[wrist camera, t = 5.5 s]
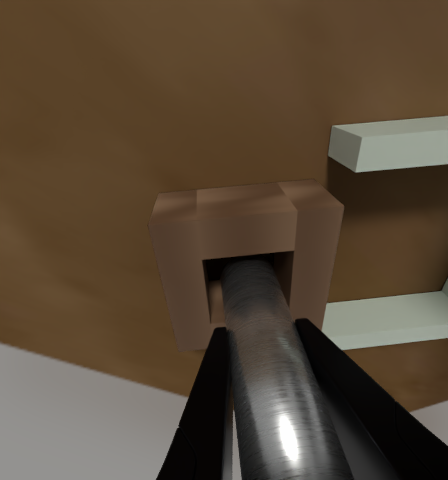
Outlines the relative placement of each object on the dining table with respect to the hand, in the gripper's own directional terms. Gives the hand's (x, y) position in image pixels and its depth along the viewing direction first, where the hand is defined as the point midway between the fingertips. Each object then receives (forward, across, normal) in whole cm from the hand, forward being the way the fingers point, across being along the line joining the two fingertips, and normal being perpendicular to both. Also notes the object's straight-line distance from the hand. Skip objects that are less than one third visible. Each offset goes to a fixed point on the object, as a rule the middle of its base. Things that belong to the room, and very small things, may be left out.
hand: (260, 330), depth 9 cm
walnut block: (+5, 0, 0) cm, 5 cm away
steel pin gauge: (+3, 0, 0) cm, 3 cm away
